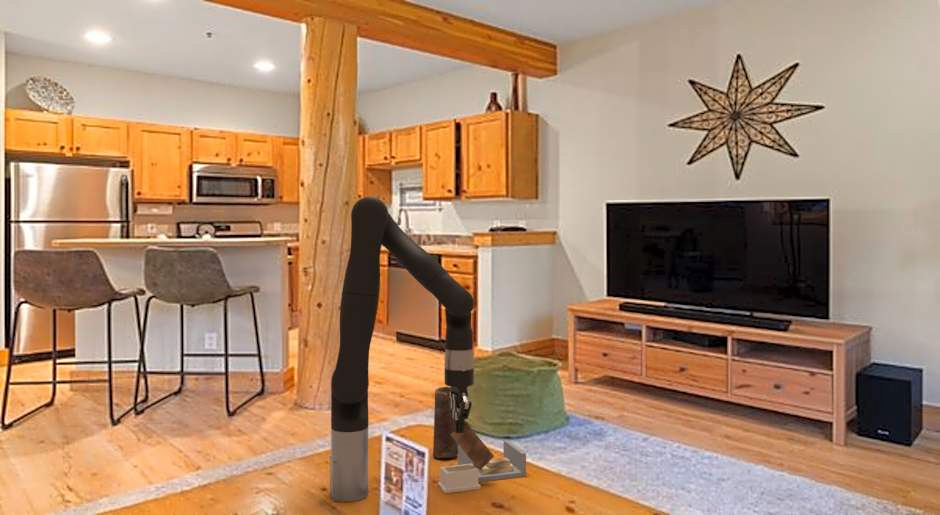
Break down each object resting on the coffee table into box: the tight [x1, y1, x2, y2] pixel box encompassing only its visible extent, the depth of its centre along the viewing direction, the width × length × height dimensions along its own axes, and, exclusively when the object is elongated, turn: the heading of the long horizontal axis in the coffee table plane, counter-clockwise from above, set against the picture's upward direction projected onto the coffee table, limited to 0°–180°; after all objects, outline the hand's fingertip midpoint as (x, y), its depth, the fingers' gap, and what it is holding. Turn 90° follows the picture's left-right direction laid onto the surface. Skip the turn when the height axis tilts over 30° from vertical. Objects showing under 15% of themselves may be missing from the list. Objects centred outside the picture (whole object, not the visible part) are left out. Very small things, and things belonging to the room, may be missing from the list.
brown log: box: [432, 386, 458, 460], centre depth 190 cm, size 8×7×20 cm
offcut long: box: [478, 463, 514, 475], centre depth 175 cm, size 9×3×2 cm, turn 109°
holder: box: [437, 463, 482, 494], centre depth 167 cm, size 10×6×5 cm, turn 109°
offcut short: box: [486, 457, 510, 469], centre depth 175 cm, size 6×3×2 cm, turn 113°
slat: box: [451, 420, 495, 470], centre depth 168 cm, size 5×2×12 cm
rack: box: [457, 439, 527, 483], centre depth 178 cm, size 15×13×6 cm
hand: (459, 433), depth 166 cm, fingers closed on slat
